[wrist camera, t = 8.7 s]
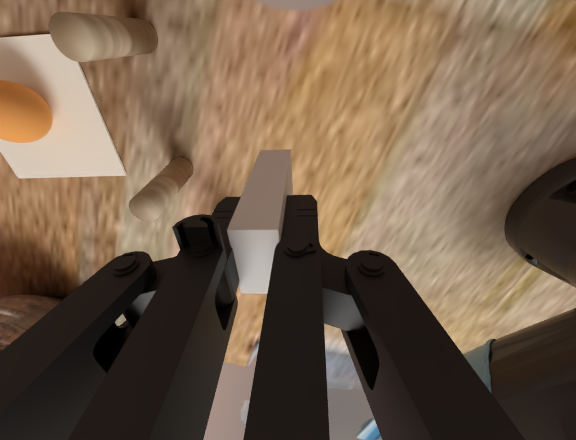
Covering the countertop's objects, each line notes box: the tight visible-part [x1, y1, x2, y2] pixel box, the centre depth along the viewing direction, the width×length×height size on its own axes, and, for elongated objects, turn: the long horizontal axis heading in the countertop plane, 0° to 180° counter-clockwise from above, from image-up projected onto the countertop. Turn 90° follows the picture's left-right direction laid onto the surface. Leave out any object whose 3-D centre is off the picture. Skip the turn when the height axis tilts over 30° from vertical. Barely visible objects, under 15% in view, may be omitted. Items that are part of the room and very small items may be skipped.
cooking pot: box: [0, 294, 64, 352], centre depth 44 cm, size 25×19×12 cm
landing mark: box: [0, 34, 127, 178], centre depth 29 cm, size 14×14×1 cm
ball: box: [0, 80, 53, 143], centre depth 26 cm, size 6×6×6 cm
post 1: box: [49, 12, 158, 62], centre depth 21 cm, size 3×3×9 cm
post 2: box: [129, 157, 193, 221], centre depth 28 cm, size 3×3×9 cm
